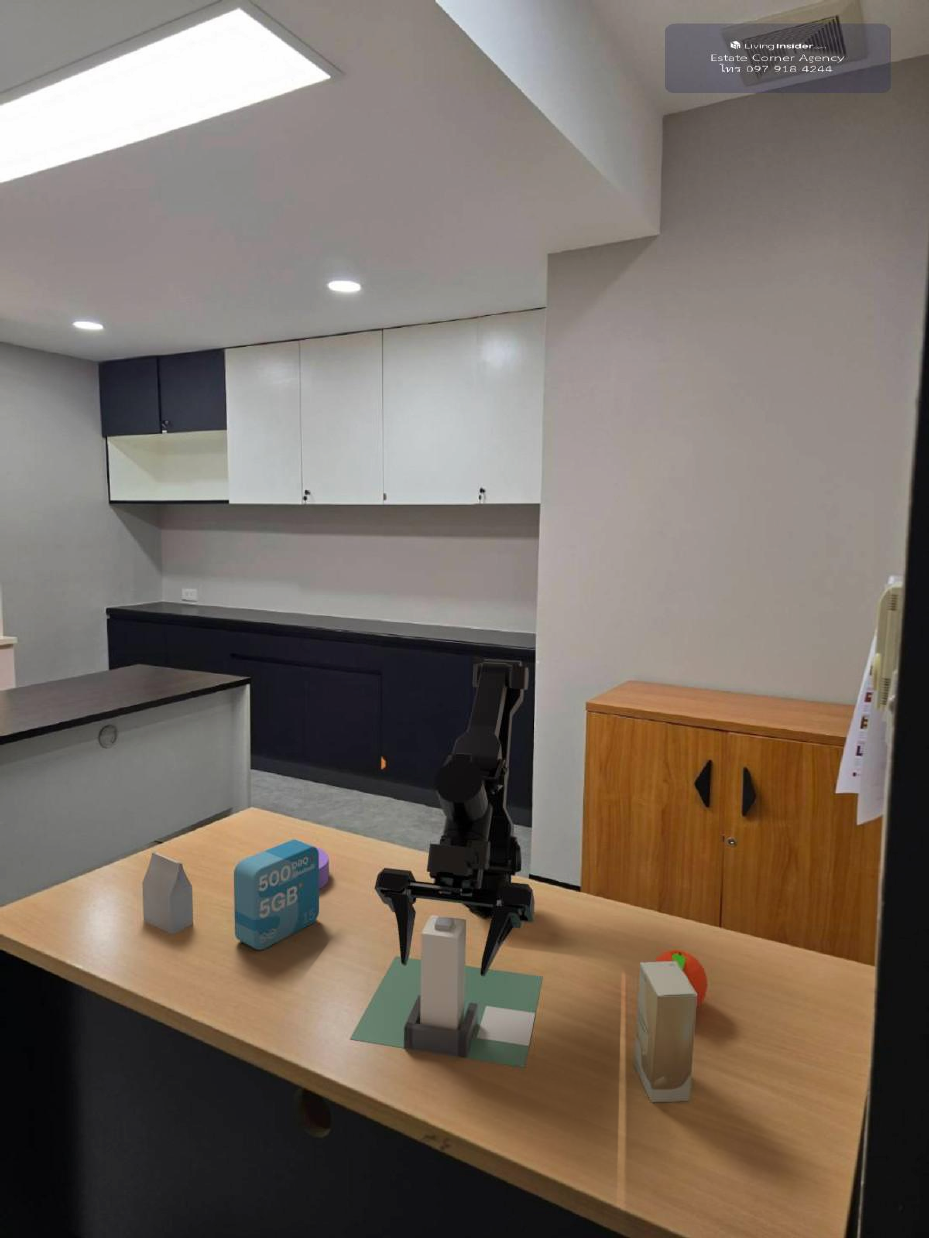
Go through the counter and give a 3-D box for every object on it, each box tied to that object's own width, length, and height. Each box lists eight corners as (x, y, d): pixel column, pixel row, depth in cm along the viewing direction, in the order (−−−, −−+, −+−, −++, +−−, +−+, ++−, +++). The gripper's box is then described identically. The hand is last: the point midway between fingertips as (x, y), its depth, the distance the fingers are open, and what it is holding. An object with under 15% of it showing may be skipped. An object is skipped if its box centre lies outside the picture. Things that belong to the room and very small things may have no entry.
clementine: (706, 1034, 91) (709, 977, 90) (645, 1022, 93) (648, 967, 92) (705, 995, 98) (708, 943, 97) (650, 985, 100) (652, 933, 99)
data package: (254, 954, 106) (253, 871, 104) (234, 943, 108) (232, 862, 107) (319, 920, 115) (319, 843, 114) (299, 910, 118) (299, 836, 117)
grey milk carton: (171, 934, 110) (169, 868, 109) (143, 920, 114) (141, 856, 113) (193, 924, 114) (191, 859, 112) (165, 910, 117) (163, 848, 116)
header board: (395, 962, 104) (395, 938, 104) (542, 983, 100) (543, 958, 100) (349, 1046, 87) (349, 1018, 87) (524, 1076, 83) (525, 1045, 83)
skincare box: (632, 1062, 86) (637, 959, 84) (670, 1060, 86) (676, 958, 84) (651, 1105, 79) (657, 994, 78) (692, 1103, 80) (698, 993, 78)
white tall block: (429, 1018, 91) (430, 909, 89) (464, 1024, 90) (466, 914, 88) (420, 1041, 87) (421, 928, 85) (456, 1047, 86) (458, 932, 84)
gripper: (380, 803, 92) (346, 936, 83) (534, 818, 89) (518, 960, 79) (398, 841, 101) (370, 966, 91) (540, 856, 97) (526, 988, 87)
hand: (442, 969), depth 87 cm, fingers open, 9 cm apart
